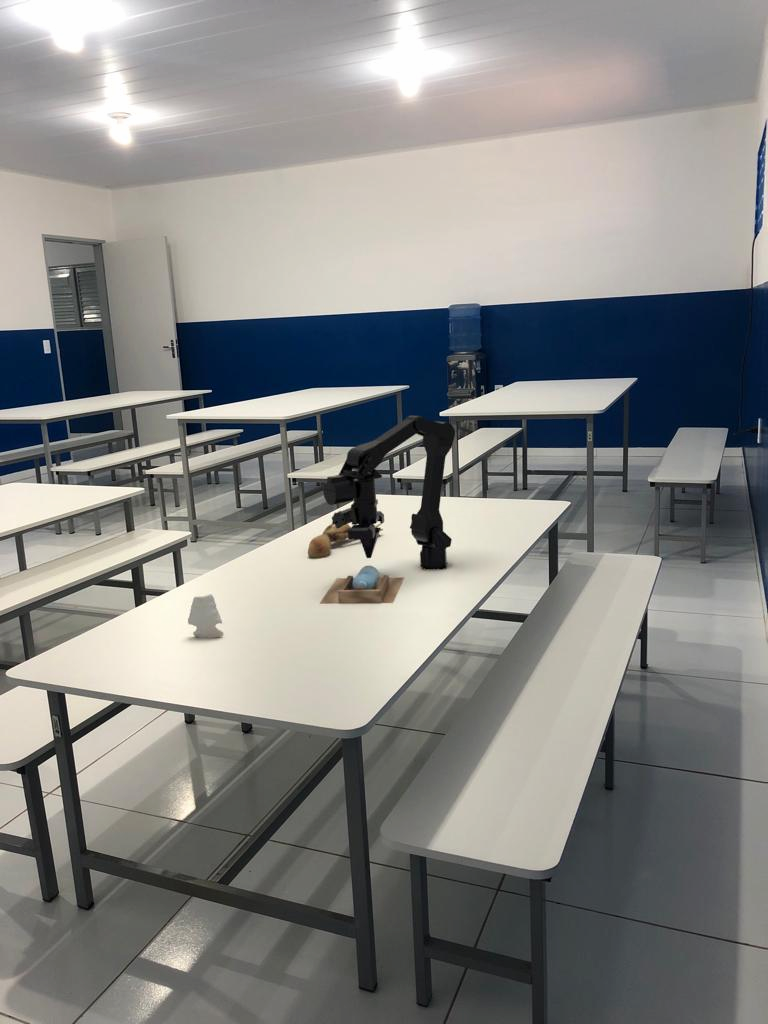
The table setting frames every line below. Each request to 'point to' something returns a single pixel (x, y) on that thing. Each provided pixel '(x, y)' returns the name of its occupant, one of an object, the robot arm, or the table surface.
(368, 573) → the bottle
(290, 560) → the table surface
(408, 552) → the table surface
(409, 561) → the table surface
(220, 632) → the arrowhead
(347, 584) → the rest
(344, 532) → the toy
